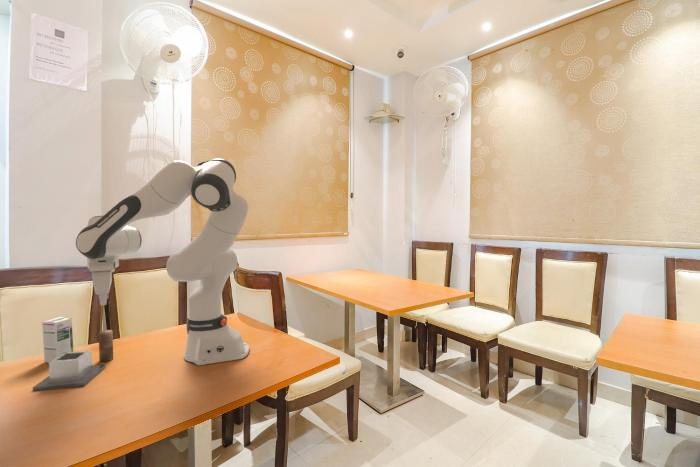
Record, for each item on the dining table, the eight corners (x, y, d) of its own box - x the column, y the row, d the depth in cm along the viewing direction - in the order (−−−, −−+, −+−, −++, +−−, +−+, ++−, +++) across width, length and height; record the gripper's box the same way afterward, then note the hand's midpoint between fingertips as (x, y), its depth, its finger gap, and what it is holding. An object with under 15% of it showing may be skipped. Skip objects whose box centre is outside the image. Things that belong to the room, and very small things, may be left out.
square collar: (105, 367, 114) (104, 346, 113) (84, 386, 101) (83, 363, 101) (60, 370, 111) (59, 349, 111) (32, 390, 98) (31, 367, 98)
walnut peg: (115, 356, 122) (114, 329, 122) (110, 361, 118) (109, 333, 118) (102, 357, 121) (102, 330, 121) (97, 362, 117) (96, 334, 117)
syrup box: (57, 364, 116) (55, 322, 115) (43, 362, 117) (41, 321, 116) (74, 357, 121) (72, 317, 121) (60, 355, 123) (59, 316, 122)
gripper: (94, 259, 125) (95, 296, 126) (88, 267, 108) (90, 310, 108) (115, 258, 128) (116, 294, 129) (113, 265, 111) (114, 307, 112)
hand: (104, 301), depth 119 cm, fingers open, 8 cm apart
